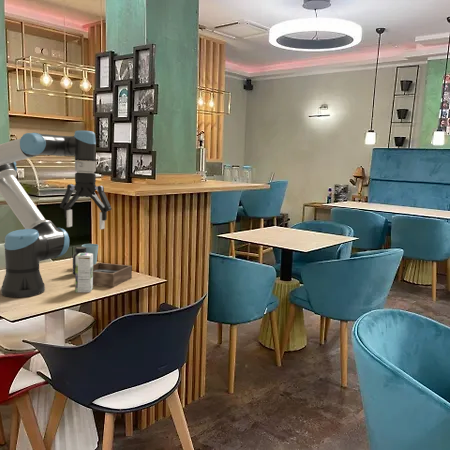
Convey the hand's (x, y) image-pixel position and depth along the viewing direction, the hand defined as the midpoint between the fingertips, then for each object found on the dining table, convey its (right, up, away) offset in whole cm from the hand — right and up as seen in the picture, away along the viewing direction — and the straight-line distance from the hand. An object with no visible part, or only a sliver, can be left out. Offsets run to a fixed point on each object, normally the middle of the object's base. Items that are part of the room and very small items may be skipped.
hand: (85, 227), depth 173 cm
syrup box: (-1, -25, +3) cm, 25 cm away
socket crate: (+3, -23, +18) cm, 29 cm away
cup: (-11, -19, +42) cm, 48 cm away
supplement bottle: (-11, -21, +28) cm, 37 cm away
